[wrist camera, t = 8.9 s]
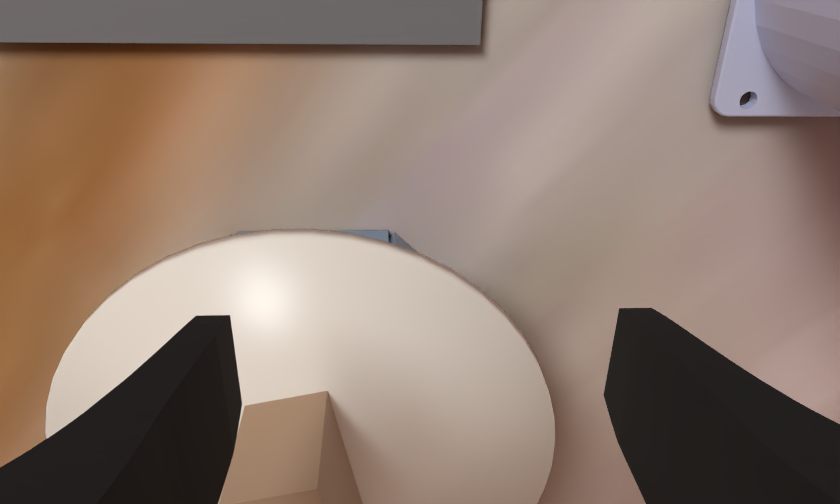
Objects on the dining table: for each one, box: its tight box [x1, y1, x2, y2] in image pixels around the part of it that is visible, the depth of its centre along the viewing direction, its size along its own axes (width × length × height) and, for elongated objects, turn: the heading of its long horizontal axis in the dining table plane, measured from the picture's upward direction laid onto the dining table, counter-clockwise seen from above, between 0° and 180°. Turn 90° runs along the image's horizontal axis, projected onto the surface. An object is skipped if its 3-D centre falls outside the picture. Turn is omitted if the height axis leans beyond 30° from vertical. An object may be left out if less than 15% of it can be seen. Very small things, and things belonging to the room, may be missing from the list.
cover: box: [45, 229, 555, 504], centre depth 19 cm, size 15×15×4 cm
